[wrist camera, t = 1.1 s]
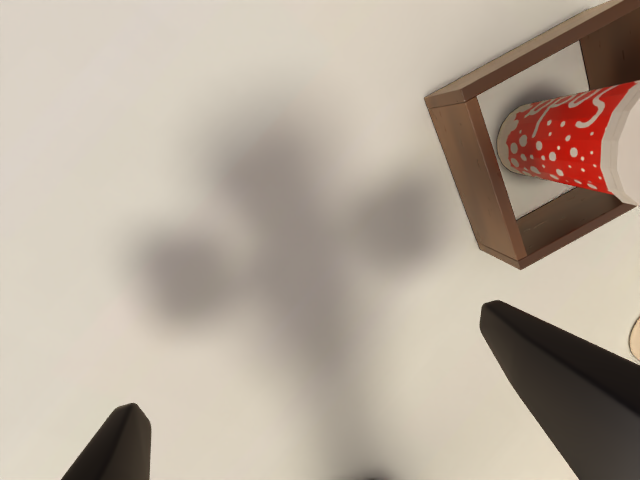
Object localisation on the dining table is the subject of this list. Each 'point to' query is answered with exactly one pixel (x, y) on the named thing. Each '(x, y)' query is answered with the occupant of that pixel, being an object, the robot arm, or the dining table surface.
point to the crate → (478, 155)
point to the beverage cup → (579, 140)
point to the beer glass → (635, 340)
